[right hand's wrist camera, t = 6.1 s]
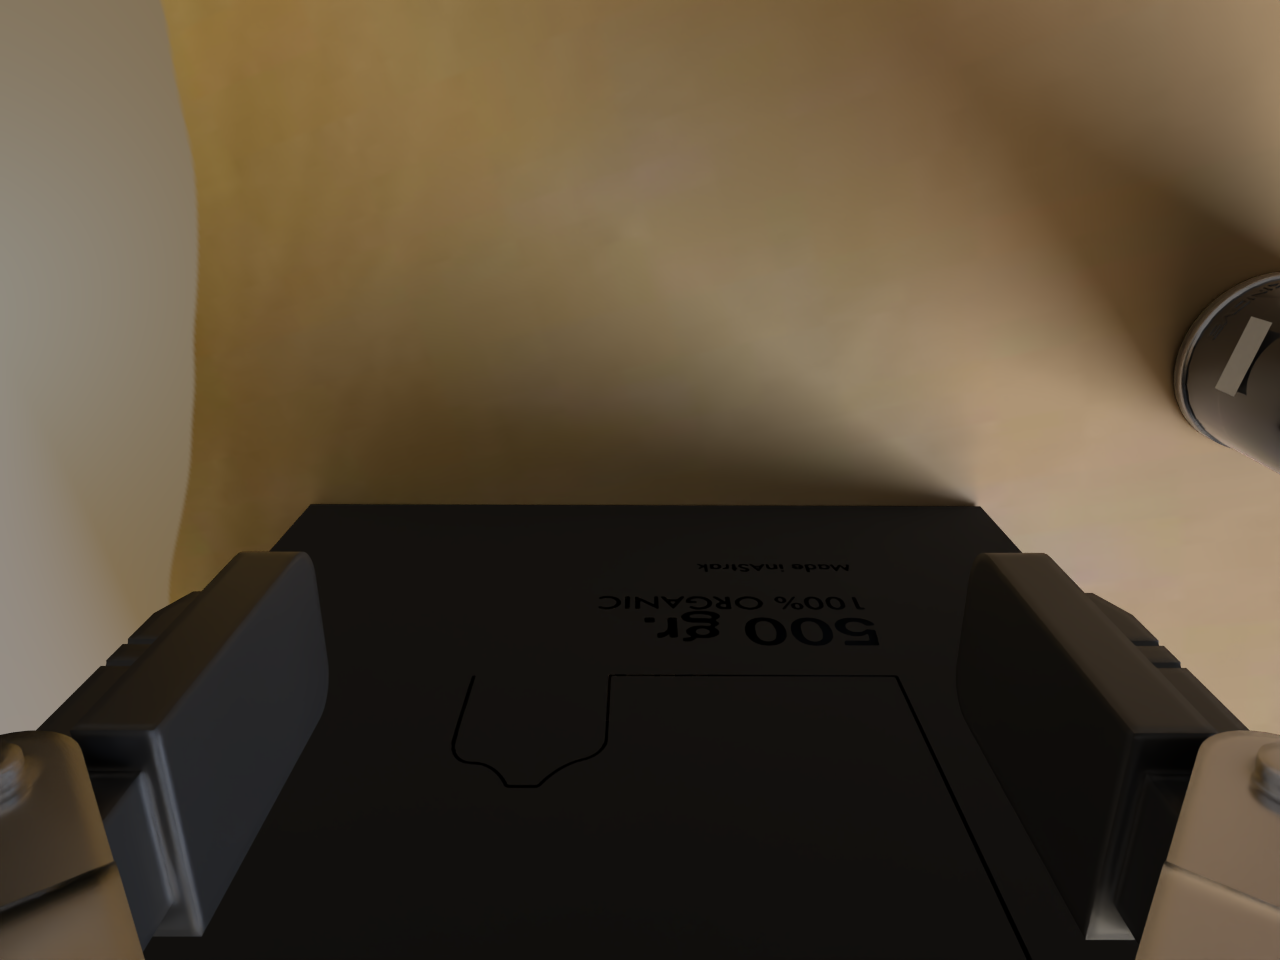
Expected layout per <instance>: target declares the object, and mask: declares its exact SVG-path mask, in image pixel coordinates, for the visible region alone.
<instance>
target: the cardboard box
mask: <svg viewBox="0 0 1280 960" xmlns="http://www.w3.org/2000/svg"><path fill="white" fill-rule="evenodd" d="M269 552H305V553H307V554H308V555H309V556H310V558H311V560H312V562H313V565H314V569H315V574H316V581H317V588H318V595H319V602H320V609H321V616H322V623H323V630H324V637H325V644H326V651H327V658H328V666H329V685H328V693H327V699H326V704H325V707H324V710H323V713H322V716H321V718H320V720H319V722H318V723H317V725H316V727H315V729H314V731H313V733H312V734H311V736H310V738H309V740H308V742H307V744H306V746H305V747H304V749H303V751H302V753H301V755H300V757H299V758H298V760H297V762H296V764H295V766H294V768H293V769H292V771H291V773H290V775H289V777H288V779H287V781H286V782H285V784H284V786H283V788H282V790H281V792H280V793H279V795H278V797H277V799H276V801H275V803H274V804H273V806H272V808H271V810H270V812H269V814H268V815H267V817H266V819H265V821H264V823H263V825H262V827H261V828H260V830H259V832H258V834H257V836H256V838H255V839H254V841H253V843H252V845H251V847H250V849H249V850H248V852H247V854H246V856H245V858H244V860H243V861H242V863H241V865H240V867H239V869H238V871H237V873H236V874H235V876H234V878H233V880H232V882H231V884H230V885H229V887H228V889H227V891H226V893H225V895H224V896H223V898H222V900H221V902H220V904H219V906H218V908H217V909H216V911H215V913H214V915H213V917H212V919H211V920H210V922H209V924H208V926H207V928H206V930H205V931H204V933H203V935H202V936H152V938H151V940H150V941H149V943H148V945H147V946H146V948H145V950H144V951H143V955H144V958H145V960H1135V958H1136V955H1137V952H1138V948H1139V945H1138V943H1137V942H1136V940H1085V938H1084V936H1083V934H1082V933H1081V931H1080V929H1079V927H1078V925H1077V924H1076V922H1075V920H1074V918H1073V916H1072V914H1071V913H1070V911H1069V909H1068V907H1067V905H1066V904H1065V902H1064V900H1063V898H1062V896H1061V894H1060V893H1059V891H1058V889H1057V887H1056V885H1055V884H1054V882H1053V880H1052V878H1051V876H1050V874H1049V873H1048V871H1047V869H1046V867H1045V865H1044V864H1043V862H1042V860H1041V858H1040V856H1039V854H1038V853H1037V851H1036V849H1035V847H1034V845H1033V844H1032V842H1031V840H1030V838H1029V836H1028V834H1027V833H1026V831H1025V829H1024V827H1023V825H1022V824H1021V822H1020V820H1019V818H1018V816H1017V814H1016V813H1015V811H1014V809H1013V807H1012V805H1011V804H1010V802H1009V800H1008V798H1007V796H1006V794H1005V793H1004V791H1003V789H1002V787H1001V785H1000V784H999V782H998V780H997V778H996V776H995V774H994V773H993V771H992V769H991V767H990V765H989V764H988V762H987V760H986V758H985V756H984V754H983V753H982V751H981V749H980V747H979V745H978V744H977V742H976V740H975V738H974V736H973V734H972V733H971V731H970V729H969V727H968V725H967V724H966V722H965V720H964V718H963V715H962V713H961V710H960V706H959V702H958V697H957V689H956V665H957V658H958V651H959V644H960V637H961V630H962V623H963V617H964V610H965V603H966V596H967V589H968V582H969V576H970V570H971V567H972V564H973V561H974V560H975V558H976V556H978V555H979V554H981V553H1022V552H1021V551H1020V550H1019V549H1018V548H1017V547H1016V546H1015V544H1014V543H1013V542H1012V541H1011V540H1010V539H1009V538H1008V537H1007V536H1006V534H1005V533H1004V532H1003V531H1002V530H1001V529H1000V528H999V527H998V526H997V524H996V523H995V522H994V521H993V520H992V519H991V518H990V517H989V516H988V515H987V513H986V512H985V511H984V510H983V509H982V508H981V507H980V506H679V505H372V504H311V505H310V506H309V507H308V508H307V509H306V510H305V511H304V513H303V514H302V515H301V516H300V517H299V518H298V519H297V521H296V522H295V523H294V524H293V525H292V526H291V527H290V528H289V530H288V531H287V532H286V533H285V534H284V535H283V536H282V538H281V539H280V540H279V541H278V542H277V543H276V544H275V546H274V547H273V548H272V549H271V550H270V551H269ZM626 596H627V598H626V599H625V597H626ZM635 597H636V598H640V600H638V601H636V600H635ZM666 598H667V599H669V601H667V599H666ZM600 608H607V609H600ZM613 608H614V609H613ZM626 608H629V609H626ZM637 608H639V609H637ZM651 618H653V619H652V620H651ZM667 618H669V619H668V620H667ZM673 618H677V621H676V620H674V619H673ZM681 618H682V619H681ZM610 674H613V675H616V676H611V692H610V711H609V720H607V721H606V710H607V692H608V675H610ZM627 674H653V675H654V676H626V675H627ZM660 675H675V676H660ZM693 675H708V676H693Z"/></svg>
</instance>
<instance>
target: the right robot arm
mask: <svg viewBox="0 0 1280 960" xmlns="http://www.w3.org/2000/svg"><path fill="white" fill-rule="evenodd" d="M1174 389H1175V395H1176V399H1177V402H1178V405H1179V407H1180V409H1181V412H1182V413H1183V415H1184V417H1185V418H1186V419H1187V421H1188V422H1189V423H1190V424H1191V425H1192V426H1193V427H1194V428H1195V429H1196V430H1197V431H1198V432H1200V433H1201V434H1203V435H1204V436H1206V437H1208V438H1210V439H1211V440H1213V441H1215V442H1217V443H1219V444H1221V445H1224V446H1226V447H1229V448H1232V449H1234V450H1236V451H1238V452H1240V453H1242V454H1244V455H1245V456H1247V457H1249V458H1251V459H1252V460H1254V461H1256V462H1258V463H1260V464H1262V465H1263V466H1265V467H1267V468H1269V469H1271V470H1273V471H1275V472H1276V473H1278V474H1280V272H1274V273H1268V274H1264V275H1260V276H1257V277H1254V278H1251V279H1248V280H1246V281H1244V282H1242V283H1240V284H1237V285H1236V286H1234V287H1232V288H1230V289H1229V290H1227V291H1226V292H1224V293H1223V294H1221V295H1220V296H1219V297H1218V298H1216V299H1215V300H1214V301H1213V302H1212V303H1211V304H1210V305H1209V306H1207V307H1206V308H1205V309H1204V311H1203V312H1202V313H1201V314H1200V315H1199V316H1198V318H1197V319H1196V320H1195V321H1194V323H1193V324H1192V326H1191V327H1190V329H1189V330H1188V332H1187V334H1186V336H1185V338H1184V340H1183V342H1182V344H1181V347H1180V349H1179V352H1178V355H1177V359H1176V364H1175V370H1174ZM106 662H107V663H106V666H100V667H99V668H98V669H97V670H96V671H95V672H94V673H93V674H92V675H91V676H90V677H89V678H88V679H87V680H86V681H85V682H84V683H83V684H82V685H81V686H80V687H79V688H78V689H77V690H76V691H75V692H74V693H73V694H72V695H71V696H70V697H69V698H68V699H67V700H66V701H65V702H64V703H63V704H62V705H61V706H60V707H59V708H58V709H57V710H56V711H55V712H54V713H53V714H52V715H51V716H50V717H49V718H48V719H47V720H46V721H45V722H44V723H43V724H42V725H41V726H40V727H39V728H38V729H37V730H36V731H22V732H13V733H8V734H3V735H0V960H145V958H144V955H143V951H144V950H145V948H146V946H147V945H148V943H149V941H150V940H151V938H152V936H202V935H203V933H204V931H205V930H206V928H207V926H208V924H209V922H210V920H211V919H212V917H213V915H214V913H215V911H216V909H217V908H218V906H219V904H220V902H221V900H222V898H223V896H224V895H225V893H226V891H227V889H228V887H229V885H230V884H231V882H232V880H233V878H234V876H235V874H236V873H237V871H238V869H239V867H240V865H241V863H242V861H243V860H244V858H245V856H246V854H247V852H248V850H249V849H250V847H251V845H252V843H253V841H254V839H255V838H256V836H257V834H258V832H259V830H260V828H261V827H262V825H263V823H264V821H265V819H266V817H267V815H268V814H269V812H270V810H271V808H272V806H273V804H274V803H275V801H276V799H277V797H278V795H279V793H280V792H281V790H282V788H283V786H284V784H285V782H286V781H287V779H288V777H289V775H290V773H291V771H292V769H293V768H294V766H295V764H296V762H297V760H298V758H299V757H300V755H301V753H302V751H303V749H304V747H305V746H306V744H307V742H308V740H309V738H310V736H311V734H312V733H313V731H314V729H315V727H316V725H317V723H318V722H319V720H320V718H321V716H322V713H323V710H324V707H325V704H326V699H327V693H328V685H329V666H328V658H327V651H326V644H325V637H324V630H323V623H322V616H321V609H320V602H319V595H318V588H317V581H316V574H315V569H314V565H313V562H312V560H311V558H310V556H309V555H308V554H307V553H305V552H240V553H238V554H237V555H236V556H235V557H234V558H233V559H232V560H231V561H230V562H229V563H228V564H227V565H226V566H225V567H224V568H223V569H222V570H221V571H220V572H219V574H218V575H217V576H216V577H215V578H214V579H213V580H212V581H211V582H210V583H209V584H208V585H207V586H206V587H205V588H204V589H203V590H202V591H201V592H192V593H190V594H188V595H186V596H184V597H182V598H181V599H179V600H177V601H175V602H173V603H172V604H170V605H168V606H166V607H164V608H163V609H161V610H159V611H157V612H155V613H154V614H153V615H152V616H151V617H150V618H149V619H148V620H147V621H146V622H145V623H144V624H143V625H142V626H140V627H139V628H138V630H136V631H135V632H134V633H133V634H132V635H131V636H130V637H129V639H128V644H122V645H121V646H120V647H119V648H118V649H117V650H116V651H115V652H114V653H113V654H112V655H111V656H110V657H109V658H108V659H107V661H106ZM1180 663H1181V662H1180V661H1179V660H1178V659H1177V658H1175V657H1174V656H1173V655H1172V654H1171V653H1170V652H1169V651H1168V650H1167V649H1166V648H1165V647H1164V646H1159V644H1158V640H1157V639H1156V638H1155V637H1154V636H1153V635H1152V634H1151V633H1150V632H1149V631H1148V630H1147V629H1146V628H1145V627H1144V626H1143V625H1142V624H1141V623H1140V622H1139V621H1138V620H1137V619H1136V618H1135V617H1134V616H1133V615H1131V614H1130V613H1128V612H1126V611H1124V610H1122V609H1121V608H1119V607H1117V606H1115V605H1113V604H1111V603H1110V602H1108V601H1106V600H1104V599H1102V598H1101V597H1099V596H1097V595H1095V594H1093V593H1084V592H1083V591H1082V590H1081V589H1080V588H1079V587H1078V586H1077V585H1076V584H1075V582H1074V581H1073V580H1072V579H1071V578H1070V577H1069V576H1068V575H1067V574H1066V573H1065V572H1064V571H1063V570H1062V569H1061V568H1060V567H1059V566H1058V565H1057V564H1056V563H1055V562H1054V561H1053V560H1052V559H1051V557H1049V556H1048V555H1047V554H1044V553H981V554H979V555H978V556H976V558H975V560H974V561H973V564H972V567H971V570H970V576H969V582H968V589H967V596H966V603H965V610H964V617H963V623H962V630H961V637H960V644H959V651H958V658H957V665H956V689H957V697H958V702H959V706H960V710H961V713H962V715H963V718H964V720H965V722H966V724H967V725H968V727H969V729H970V731H971V733H972V734H973V736H974V738H975V740H976V742H977V744H978V745H979V747H980V749H981V751H982V753H983V754H984V756H985V758H986V760H987V762H988V764H989V765H990V767H991V769H992V771H993V773H994V774H995V776H996V778H997V780H998V782H999V784H1000V785H1001V787H1002V789H1003V791H1004V793H1005V794H1006V796H1007V798H1008V800H1009V802H1010V804H1011V805H1012V807H1013V809H1014V811H1015V813H1016V814H1017V816H1018V818H1019V820H1020V822H1021V824H1022V825H1023V827H1024V829H1025V831H1026V833H1027V834H1028V836H1029V838H1030V840H1031V842H1032V844H1033V845H1034V847H1035V849H1036V851H1037V853H1038V854H1039V856H1040V858H1041V860H1042V862H1043V864H1044V865H1045V867H1046V869H1047V871H1048V873H1049V874H1050V876H1051V878H1052V880H1053V882H1054V884H1055V885H1056V887H1057V889H1058V891H1059V893H1060V894H1061V896H1062V898H1063V900H1064V902H1065V904H1066V905H1067V907H1068V909H1069V911H1070V913H1071V914H1072V916H1073V918H1074V920H1075V922H1076V924H1077V925H1078V927H1079V929H1080V931H1081V933H1082V934H1083V936H1084V938H1085V940H1136V942H1137V943H1138V945H1139V948H1138V952H1137V955H1136V958H1135V960H1280V735H1277V734H1272V733H1267V732H1259V731H1250V730H1249V729H1248V728H1247V727H1246V726H1245V725H1243V724H1242V723H1241V722H1240V721H1239V720H1238V719H1237V718H1236V717H1235V716H1234V715H1233V714H1232V713H1231V712H1230V711H1229V710H1228V709H1227V708H1226V707H1225V706H1224V705H1223V704H1222V703H1221V702H1220V701H1219V700H1218V699H1217V698H1216V697H1215V696H1214V695H1213V694H1212V693H1211V692H1210V691H1209V690H1208V689H1207V688H1206V687H1205V686H1204V685H1203V684H1202V683H1201V682H1200V681H1199V680H1198V679H1197V678H1196V677H1195V676H1194V675H1193V674H1192V673H1191V672H1190V671H1189V670H1188V669H1187V668H1181V666H1180Z"/></svg>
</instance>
